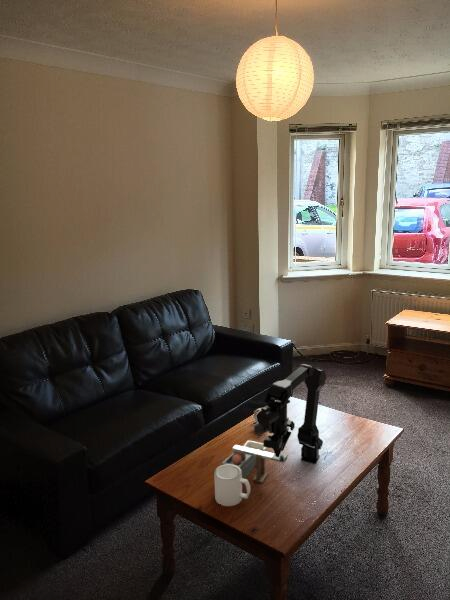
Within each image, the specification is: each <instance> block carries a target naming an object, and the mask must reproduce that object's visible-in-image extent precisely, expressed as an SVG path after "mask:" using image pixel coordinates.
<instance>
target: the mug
mask: <svg viewBox="0 0 450 600" xmlns="http://www.w3.org/2000/svg"><path fill="white" fill-rule="evenodd" d="M213 474H214V475H213V476H214V497H215V498H214V499H215V501H216V503H217V504H219V505H220V504H221V506H223V507H233V506H236V505H238V504H240V503H241V502H242V500H243V499H245V500H247V499H249V496H250V493H251V484H250V482H249V480H248V478H246V479H243V478H242V471H241V469H240V468H239V467H238V466H236V465H232V464H225V465H222V464H221V465H219V466H217V467H216V468H214V472H213ZM243 484H244V487H245V488H246V493H244V492H243Z"/></svg>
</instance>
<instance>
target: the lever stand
mask: <svg viewBox="0 0 450 600" xmlns="http://www.w3.org/2000/svg"><path fill="white" fill-rule="evenodd" d="M260 450H261V451H265V450H264V449H260ZM265 461H266V459H264V458H261V456H260V455H259V454H256V466H255V470H256V471H255V473H256V474H255V475H254V477H253V478H252V482H256V483H260V484H264V482H265V480H266V478H267V477H268V476H269V472H266V470H265V469H266V468H265V467H266V464H265Z"/></svg>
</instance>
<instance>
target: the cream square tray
mask: <svg viewBox="0 0 450 600" xmlns="http://www.w3.org/2000/svg"><path fill="white" fill-rule="evenodd" d="M242 446H244V447H248V448H252V449H258V450H260V449H264V450H265V452H269V448H268V447H264V446H263V442H259V441H253V440H250V439H247V440H246V442H245V443H244V444H243V445H242Z"/></svg>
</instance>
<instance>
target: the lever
mask: <svg viewBox="0 0 450 600" xmlns="http://www.w3.org/2000/svg"><path fill="white" fill-rule="evenodd" d="M231 451H233V452H234V454H240V455H241V457H242V461H244V460H245V459H246V454H248V455H252V456H256V454H259V455H260V456H261V458H264V459H265V460H269V461H273V462H278V463H282V464H285V463H286V462H287V460H288V456H289V455H288V453H284V452H281V453H280V455H279V457H276V455H275V453H274V452H269V451H268V452H265V451H261V450H257V449H252V448H248V447H244V446H243V445H240V444H234V445H233V446H232V448H231Z"/></svg>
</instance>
